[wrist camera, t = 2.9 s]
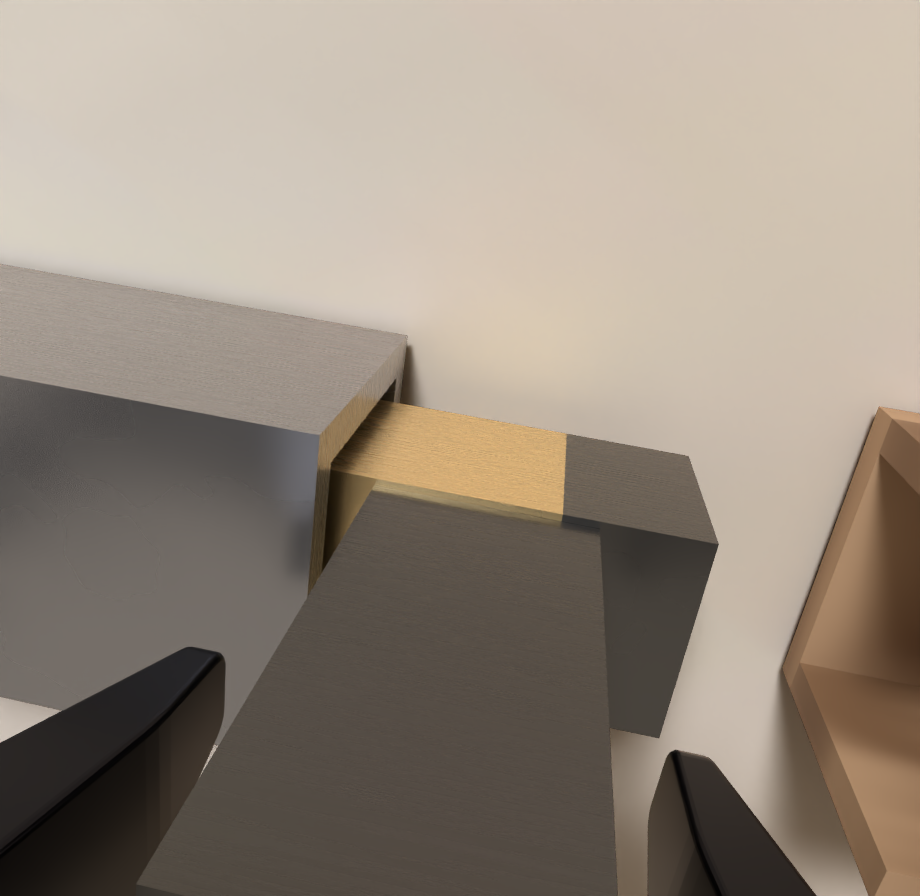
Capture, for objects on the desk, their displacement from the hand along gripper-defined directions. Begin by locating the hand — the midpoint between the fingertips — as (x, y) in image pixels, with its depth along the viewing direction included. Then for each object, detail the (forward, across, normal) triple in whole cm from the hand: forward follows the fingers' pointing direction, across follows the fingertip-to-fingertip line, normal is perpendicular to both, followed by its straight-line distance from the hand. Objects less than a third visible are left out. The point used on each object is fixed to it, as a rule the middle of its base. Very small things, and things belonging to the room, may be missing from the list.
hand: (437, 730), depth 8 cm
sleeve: (+6, +7, 0) cm, 10 cm away
